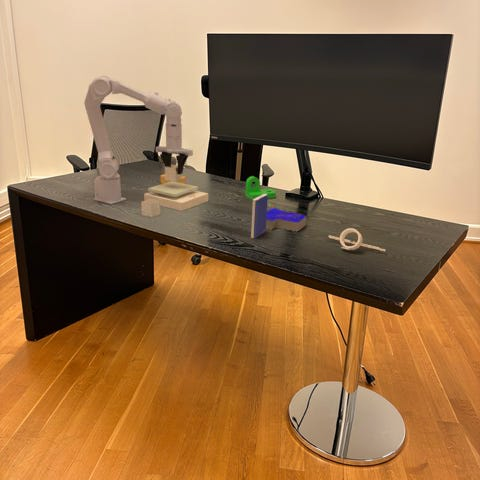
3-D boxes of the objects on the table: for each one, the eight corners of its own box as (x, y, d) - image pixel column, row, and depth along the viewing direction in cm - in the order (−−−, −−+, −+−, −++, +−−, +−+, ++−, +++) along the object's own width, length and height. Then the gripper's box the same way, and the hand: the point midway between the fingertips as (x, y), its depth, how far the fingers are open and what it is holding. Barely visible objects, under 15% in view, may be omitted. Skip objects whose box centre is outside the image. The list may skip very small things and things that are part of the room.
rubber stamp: (160, 183, 203) (159, 155, 198) (169, 181, 207) (169, 154, 203) (176, 187, 197) (176, 159, 193) (186, 185, 201) (186, 157, 197)
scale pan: (147, 190, 175) (147, 188, 174) (172, 183, 186) (172, 181, 185) (174, 197, 168) (174, 194, 168) (198, 189, 179) (198, 186, 179)
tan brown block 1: (141, 215, 161) (141, 201, 159) (150, 212, 165) (150, 198, 163) (151, 218, 159) (151, 203, 157) (160, 214, 163) (159, 201, 161)
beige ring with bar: (316, 241, 138) (322, 220, 138) (326, 248, 146) (332, 228, 147) (375, 256, 129) (382, 233, 129) (383, 263, 137) (389, 242, 138)
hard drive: (266, 231, 150) (268, 194, 146) (254, 239, 144) (256, 200, 139) (261, 230, 151) (263, 193, 147) (250, 238, 144) (252, 199, 140)
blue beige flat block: (265, 218, 164) (266, 203, 162) (305, 226, 158) (307, 211, 156) (251, 227, 155) (252, 211, 153) (293, 235, 149) (295, 219, 147)
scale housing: (144, 201, 176) (143, 192, 175) (171, 193, 189) (171, 184, 187) (181, 211, 167) (181, 201, 166) (208, 201, 180) (208, 192, 179)
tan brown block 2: (165, 180, 175) (164, 166, 173) (171, 177, 179) (170, 164, 177) (175, 181, 173) (175, 168, 172) (181, 178, 177) (181, 165, 175)
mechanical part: (252, 200, 184) (253, 180, 181) (245, 196, 189) (245, 176, 186) (278, 197, 189) (279, 177, 186) (270, 193, 194) (271, 174, 191)
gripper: (150, 136, 170) (152, 172, 175) (186, 139, 165) (186, 177, 170) (160, 133, 176) (161, 169, 181) (195, 137, 171) (195, 173, 176)
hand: (174, 173), depth 176 cm, fingers closed on tan brown block 2, 4 cm apart
